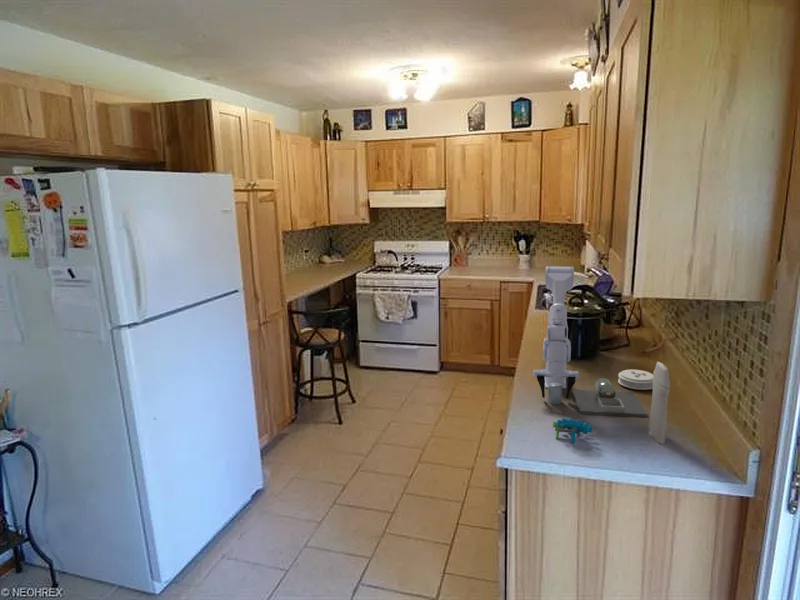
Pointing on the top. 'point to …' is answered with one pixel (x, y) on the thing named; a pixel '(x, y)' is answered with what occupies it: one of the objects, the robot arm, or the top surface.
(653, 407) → the tall pale column
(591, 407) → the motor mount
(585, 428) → the teal bumpy piece
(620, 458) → the top surface
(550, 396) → the grey rounded capsule
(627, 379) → the lid
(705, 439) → the top surface
